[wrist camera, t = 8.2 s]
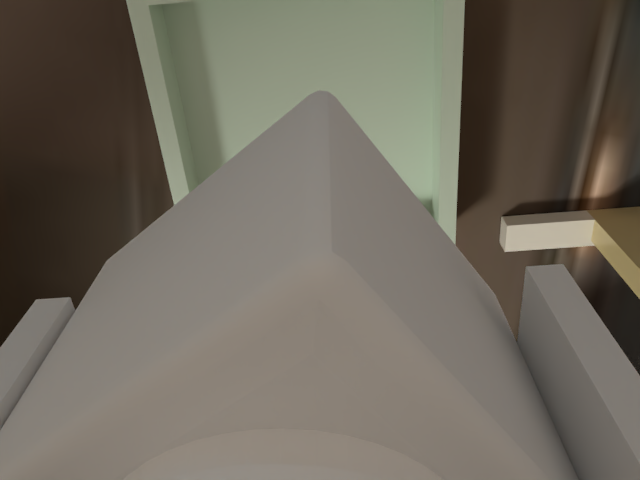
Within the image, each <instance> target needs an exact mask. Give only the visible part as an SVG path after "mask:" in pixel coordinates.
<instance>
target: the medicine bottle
mask: <svg viewBox="0 0 640 480" xmlns="http://www.w3.org/2000/svg"><path fill="white" fill-rule="evenodd" d="M0 480H579V479H578V477H577V475H576V472H575V470H574V468H573V466H572V463H571V461H570V459H569V457H568V455H567V452H566V450H565V448H564V446H563V444H562V441H561V439H560V437H559V435H558V433H557V430H556V428H555V426H554V424H553V421H552V419H551V417H550V415H549V413H548V410H547V408H546V406H545V404H544V402H543V399H542V397H541V395H540V393H539V390H538V388H537V386H536V384H535V382H534V379H533V377H532V375H531V373H530V371H529V368H528V366H527V364H526V362H525V360H524V357H523V355H522V353H521V351H520V348H519V346H518V344H517V342H516V340H515V337H514V335H513V333H512V331H511V329H510V326H509V324H508V322H507V320H506V317H505V315H504V313H503V311H502V309H501V306H500V304H499V302H498V300H497V298H496V295H495V294H494V292H493V291H492V290H491V289H490V287H489V286H488V285H487V284H486V282H485V281H484V280H483V279H482V277H481V276H480V275H479V274H478V273H477V271H476V270H475V269H474V268H473V266H472V265H471V264H470V263H469V261H468V260H467V259H466V258H465V256H464V255H463V254H462V253H461V252H460V250H459V249H458V248H457V247H456V245H455V244H454V243H453V242H452V240H451V239H450V238H449V237H448V235H447V234H446V233H445V232H444V230H443V229H442V228H441V227H440V226H439V224H438V223H437V222H436V221H435V219H434V218H433V217H432V216H431V214H430V213H429V212H428V211H427V209H426V208H425V207H424V206H423V204H422V203H421V202H420V201H419V200H418V198H417V197H416V196H415V195H414V193H413V192H412V191H411V190H410V188H409V187H408V186H407V185H406V183H405V182H404V181H403V180H402V178H401V177H400V176H399V175H398V174H397V172H396V171H395V170H394V169H393V167H392V166H391V165H390V164H389V162H388V161H387V160H386V159H385V157H384V156H383V155H382V154H381V153H380V151H379V150H378V149H377V148H376V146H375V145H374V144H373V143H372V141H371V140H370V139H369V138H368V136H367V135H366V134H365V133H364V131H363V130H362V129H361V128H360V127H359V125H358V124H357V123H356V122H355V120H354V119H353V118H352V117H351V115H350V114H349V113H348V112H347V110H346V109H345V108H344V107H343V105H342V104H341V103H340V102H339V101H338V99H337V98H336V97H335V96H334V95H332V94H331V93H330V92H328V91H320V90H318V91H316V92H314V93H312V94H310V95H309V96H307V97H306V98H305V99H304V100H302V101H301V102H300V103H299V104H298V105H296V106H295V107H294V108H293V109H291V110H290V111H289V112H288V113H287V114H285V115H284V116H283V117H282V118H280V119H279V120H278V121H277V122H275V123H274V124H273V125H272V126H271V127H269V128H268V129H267V130H266V131H264V132H263V133H262V134H261V135H260V136H258V137H257V138H256V139H255V140H253V141H252V142H251V143H250V144H249V145H247V146H246V147H245V148H244V149H242V150H241V151H240V152H239V153H238V154H236V155H235V156H234V157H233V158H231V159H230V160H229V161H228V162H227V163H225V164H224V165H223V166H222V167H220V168H219V169H218V170H217V171H216V172H214V173H213V174H212V175H211V176H209V177H208V178H207V179H206V180H205V181H203V182H202V183H201V184H200V185H198V186H197V187H196V188H195V189H194V190H192V191H191V192H190V193H189V194H187V195H186V196H185V197H184V198H183V199H181V200H180V201H179V202H178V203H176V204H175V205H174V206H173V207H172V208H170V209H169V210H168V211H167V212H165V213H164V214H163V215H162V216H161V217H159V218H158V219H157V220H156V221H154V222H153V223H152V224H151V225H150V226H148V227H147V228H146V229H145V230H143V231H142V232H141V233H140V234H139V235H137V236H136V237H135V238H134V239H132V240H131V241H130V242H129V243H128V244H126V245H125V246H124V247H123V248H121V249H120V250H119V251H118V252H117V253H115V254H114V255H113V256H112V257H110V258H109V259H108V260H107V261H106V263H105V264H104V266H103V267H102V269H101V271H100V272H99V274H98V275H97V277H96V279H95V280H94V282H93V283H92V285H91V287H90V288H89V290H88V291H87V293H86V294H85V296H84V298H83V299H82V301H81V302H80V304H79V306H78V307H77V309H76V310H75V312H74V314H73V315H72V317H71V318H70V320H69V322H68V323H67V325H66V326H65V328H64V330H63V331H62V333H61V334H60V336H59V337H58V339H57V341H56V342H55V344H54V345H53V347H52V349H51V350H50V352H49V353H48V355H47V357H46V358H45V360H44V361H43V363H42V365H41V366H40V368H39V369H38V371H37V373H36V374H35V376H34V377H33V379H32V381H31V382H30V384H29V385H28V387H27V388H26V390H25V392H24V393H23V395H22V396H21V398H20V400H19V401H18V403H17V404H16V406H15V408H14V409H13V411H12V412H11V414H10V416H9V417H8V419H7V420H6V422H5V424H4V425H3V427H2V428H1V430H0Z"/></svg>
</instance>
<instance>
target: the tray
mask: <svg viewBox="0 0 640 480" xmlns="http://www.w3.org/2000/svg"><path fill="white" fill-rule="evenodd" d="M126 2H127V7H128V11H129V15H130V19H131V24H132V28H133V32H134V37H135V41H136V45H137V49H138V54H139V58H140V62H141V66H142V71H143V75H144V79H145V83H146V88H147V92H148V96H149V100H150V105H151V109H152V113H153V117H154V122H155V126H156V130H157V134H158V139H159V143H160V147H161V151H162V156H163V160H164V164H165V168H166V173H167V177H168V181H169V186H170V190H171V194H172V198H173V203H174V205H175V204H176V203H178V202H179V201H180V200H181V199H183V198H184V197H185V196H186V195H187V194H189V193H190V192H191V191H192V190H194V189H195V188H196V187H197V186H198V185H200V184H201V183H202V182H203V181H205V180H206V179H207V178H208V177H209V176H211V175H212V174H213V173H214V172H216V171H217V170H218V169H219V168H220V167H222V166H223V165H224V164H225V163H227V162H228V161H229V160H230V159H231V158H233V157H234V156H235V155H236V154H238V153H239V152H240V151H241V150H242V149H244V148H245V147H246V146H247V145H249V144H250V143H251V142H252V141H253V140H255V139H256V138H257V137H258V136H260V135H261V134H262V133H263V132H264V131H266V130H267V129H268V128H269V127H271V126H272V125H273V124H274V123H275V122H277V121H278V120H279V119H280V118H282V117H283V116H284V115H285V114H287V113H288V112H289V111H290V110H291V109H293V108H294V107H295V106H296V105H298V104H299V103H300V102H301V101H302V100H304V99H305V98H306V97H307V96H309V95H310V94H312V93H314V92H316V91H318V90H320V91H328V92H330V93H331V94H332V95H334V96H335V97H336V98H337V99H338V101H339V102H340V103H341V104H342V105H343V107H344V108H345V109H346V110H347V112H348V113H349V114H350V115H351V117H352V118H353V119H354V120H355V122H356V123H357V124H358V125H359V127H360V128H361V129H362V130H363V131H364V133H365V134H366V135H367V136H368V138H369V139H370V140H371V141H372V143H373V144H374V145H375V146H376V148H377V149H378V150H379V151H380V153H381V154H382V155H383V156H384V157H385V159H386V160H387V161H388V162H389V164H390V165H391V166H392V167H393V169H394V170H395V171H396V172H397V174H398V175H399V176H400V177H401V178H402V180H403V181H404V182H405V183H406V185H407V186H408V187H409V188H410V190H411V191H412V192H413V193H414V195H415V196H416V197H417V198H418V200H419V201H420V202H421V203H422V204H423V206H424V207H425V208H426V209H427V211H428V212H429V213H430V214H431V216H432V217H433V218H434V219H435V221H436V222H437V223H438V224H439V226H440V227H441V228H442V229H443V230H444V232H445V233H446V234H447V235H448V237H449V238H450V239H451V240H452V242H453V243H454V244H455V239H456V213H457V188H458V163H459V138H460V112H461V87H462V62H463V37H464V11H465V0H126Z"/></svg>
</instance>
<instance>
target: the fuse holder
mask: <svg viewBox="0 0 640 480" xmlns="http://www.w3.org/2000/svg"><path fill="white" fill-rule="evenodd" d="M499 242H500V244H501V246H502V248H503V250H504V251H505V252H510V251H524V250H539V249H553V248H567V247H581V246H596V247H597V248H598V250H599V251H600V252H601V253H602V254H603V256H604V257H605V258H606V259H607V260H608V262H609V263H610V264H611V265H612V266H613V268H614V269H615V270H616V271H617V272H618V274H619V275H620V276H621V277H622V278H623V280H624V281H625V282H626V283H627V284H628V286H629V287H630V288H631V289H632V290H633V292H634V293H635V294H636V295H637V296H638V298H639V299H640V207H626V208H612V209H598V210H585V211H571V212H557V213H544V214H530V215H516V216H502V217H501V229H500V241H499Z"/></svg>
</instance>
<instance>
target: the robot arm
mask: <svg viewBox="0 0 640 480" xmlns="http://www.w3.org/2000/svg"><path fill="white" fill-rule="evenodd" d="M74 312H75V308H74V306H73V303H72V300H71V298H70V297H65V298H50V299H36V300H35V302H34V303H33V304H32V306H31V307H30V308H29V310H28V311H27V312H26V314H25V315H24V316H23V318H22V319H21V320H20V322H19V323H18V324H17V326H16V327H15V328H14V330H13V331H12V332H11V334H10V335H9V336H8V338H7V339H6V340H5V342H4V343H3V344H2V346H1V347H0V430H1V428H2V427H3V425H4V424H5V422H6V420H7V419H8V417H9V416H10V414H11V412H12V411H13V409H14V408H15V406H16V404H17V403H18V401H19V400H20V398H21V396H22V395H23V393H24V392H25V390H26V388H27V387H28V385H29V384H30V382H31V381H32V379H33V377H34V376H35V374H36V373H37V371H38V369H39V368H40V366H41V365H42V363H43V361H44V360H45V358H46V357H47V355H48V353H49V352H50V350H51V349H52V347H53V345H54V344H55V342H56V341H57V339H58V337H59V336H60V334H61V333H62V331H63V330H64V328H65V326H66V325H67V323H68V322H69V320H70V318H71V317H72V315H73V314H74ZM517 344H518V346H519V348H520V351H521V353H522V355H523V357H524V360H525V362H526V364H527V366H528V368H529V371H530V373H531V375H532V377H533V379H534V382H535V384H536V386H537V388H538V390H539V393H540V395H541V397H542V399H543V402H544V404H545V406H546V408H547V410H548V413H549V415H550V417H551V419H552V421H553V424H554V426H555V428H556V430H557V433H558V435H559V437H560V439H561V441H562V444H563V446H564V448H565V450H566V452H567V455H568V457H569V459H570V461H571V463H572V466H573V468H574V470H575V472H576V475H577V477H578V479H579V480H640V375H639V374H638V372H637V371H636V370H635V368H634V367H633V365H632V364H631V362H630V361H629V359H628V358H627V356H626V355H625V354H624V352H623V351H622V349H621V348H620V346H619V345H618V343H617V342H616V340H615V339H614V338H613V336H612V335H611V333H610V332H609V330H608V329H607V327H606V326H605V324H604V323H603V322H602V320H601V319H600V317H599V316H598V314H597V313H596V311H595V310H594V308H593V307H592V305H591V304H590V303H589V301H588V300H587V298H586V297H585V295H584V294H583V292H582V291H581V289H580V288H579V287H578V285H577V284H576V282H575V281H574V279H573V278H572V276H571V275H570V273H569V272H568V271H567V269H566V268H565V266H564V265H563V264H556V265H541V266H526V270H525V279H524V288H523V297H522V305H521V314H520V323H519V332H518V340H517Z"/></svg>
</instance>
